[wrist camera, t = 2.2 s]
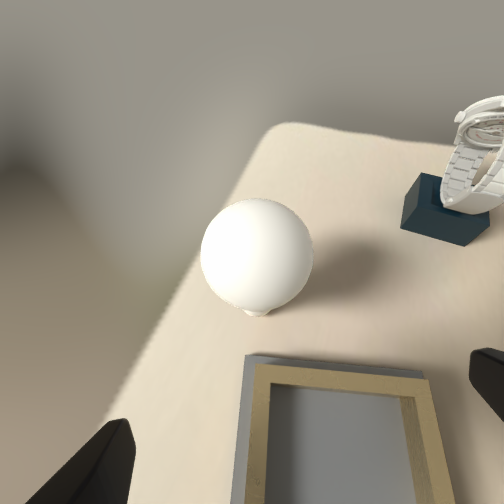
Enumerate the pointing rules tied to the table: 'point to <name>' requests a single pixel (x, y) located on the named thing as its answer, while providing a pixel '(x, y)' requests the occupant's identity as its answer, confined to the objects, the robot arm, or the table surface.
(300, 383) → the socket plate
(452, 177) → the watch
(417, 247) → the table surface
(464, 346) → the table surface
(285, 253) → the lightbulb
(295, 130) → the table surface
